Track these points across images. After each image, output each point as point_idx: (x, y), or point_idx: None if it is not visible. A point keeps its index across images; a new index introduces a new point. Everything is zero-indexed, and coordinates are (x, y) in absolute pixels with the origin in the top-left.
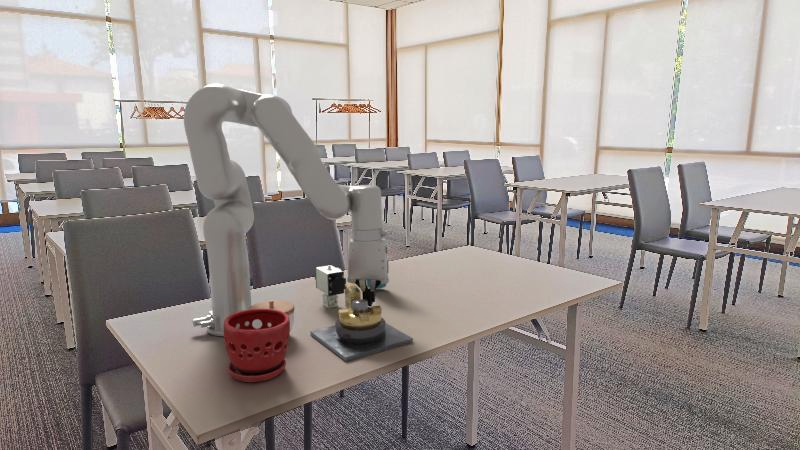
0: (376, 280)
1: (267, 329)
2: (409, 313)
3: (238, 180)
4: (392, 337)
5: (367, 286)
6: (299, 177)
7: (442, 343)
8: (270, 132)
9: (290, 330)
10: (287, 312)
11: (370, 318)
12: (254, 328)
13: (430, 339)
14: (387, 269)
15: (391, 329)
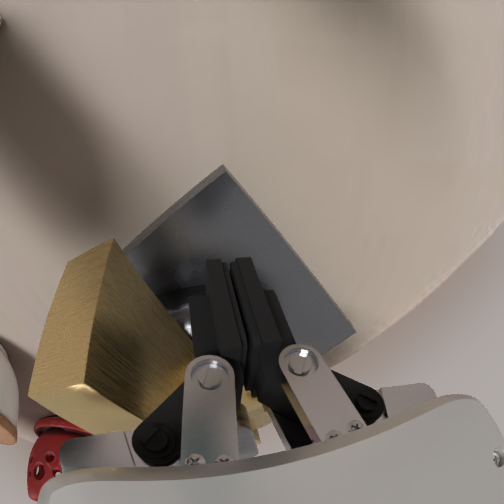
0: (345, 415)
1: None
2: (394, 82)
3: None
4: (305, 342)
5: (241, 385)
6: None
7: (407, 310)
8: None
9: (10, 369)
10: (16, 437)
11: (259, 423)
12: (38, 465)
13: (394, 299)
14: (494, 421)
15: (309, 298)
